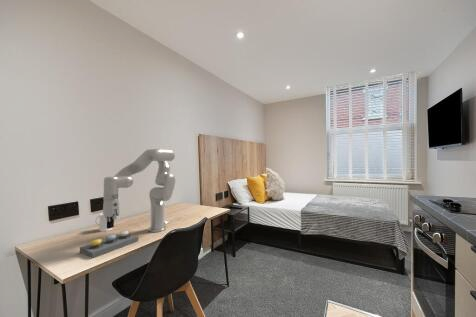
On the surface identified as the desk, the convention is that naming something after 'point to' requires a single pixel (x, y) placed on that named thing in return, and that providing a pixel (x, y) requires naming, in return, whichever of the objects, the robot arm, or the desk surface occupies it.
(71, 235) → the desk surface
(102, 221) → the mug
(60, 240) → the desk surface
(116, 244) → the control board
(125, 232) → the cream button
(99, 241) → the mustard button
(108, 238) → the slate button
